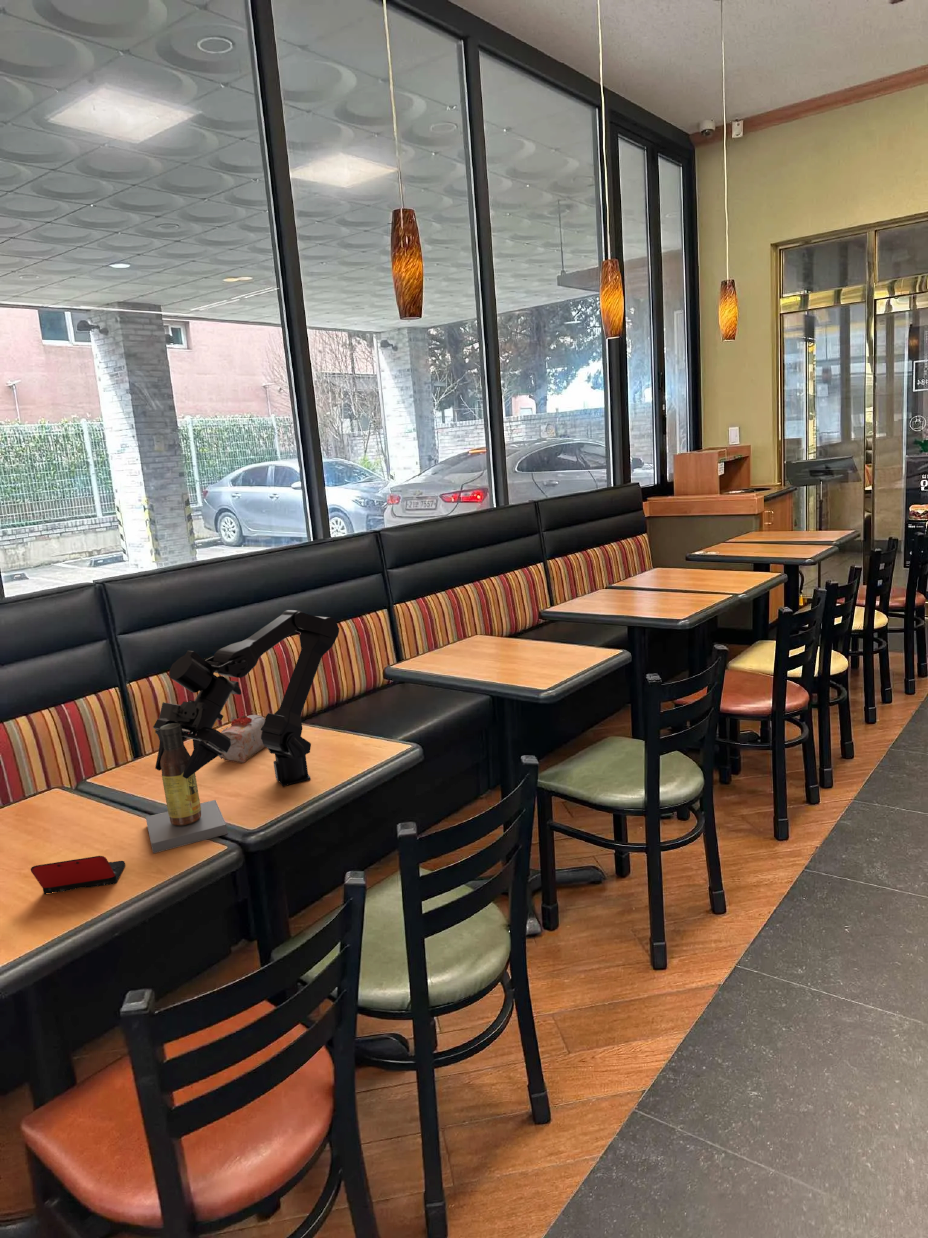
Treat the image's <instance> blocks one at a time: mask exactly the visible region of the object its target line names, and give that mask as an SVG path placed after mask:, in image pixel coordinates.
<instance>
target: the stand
mask: <svg viewBox="0 0 928 1238" xmlns="http://www.w3.org/2000/svg"><path fill="white" fill-rule="evenodd" d="M200 805H201V817H200V819H198V820H197V821H196V822H193V823H191V824H188V825H183V826H176V825H173V824H171V822H170V817H169V814H168V810H167V811H164V812H161V813H156V814H152V815H148V816H145V820H146V821H145V822H146V826H147V827H146V828H147V830H148V836H149V840H150V841H149V842H150V845H151V849H152V854H157V853H161V852H163V851H167V850H171V849H175V848H178V847H183V846H186V845H190V844H194V843H198V842H202V841H206V840H210V839H213V838H217V837H220V836H224V835H228V833H229V832H228V826H227V822H226V820H225V818H224V817H223V814H222V811H221V809H220V807H219V805H218V803H217V800H216V799H213V800H208V801H205V802H200Z"/></svg>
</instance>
